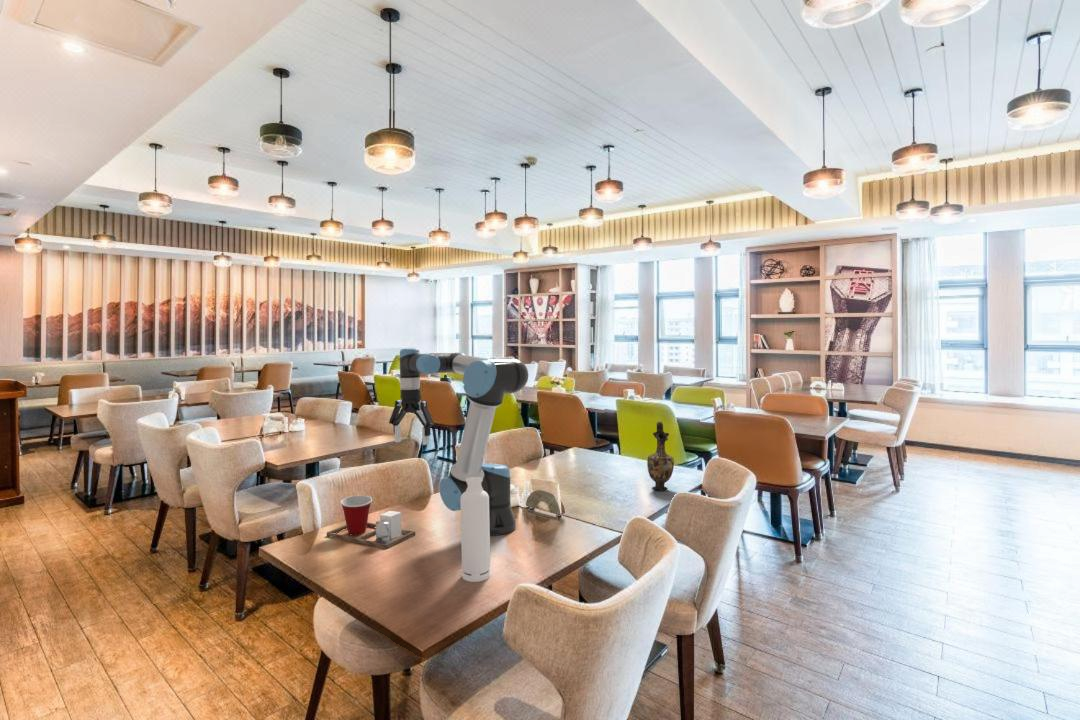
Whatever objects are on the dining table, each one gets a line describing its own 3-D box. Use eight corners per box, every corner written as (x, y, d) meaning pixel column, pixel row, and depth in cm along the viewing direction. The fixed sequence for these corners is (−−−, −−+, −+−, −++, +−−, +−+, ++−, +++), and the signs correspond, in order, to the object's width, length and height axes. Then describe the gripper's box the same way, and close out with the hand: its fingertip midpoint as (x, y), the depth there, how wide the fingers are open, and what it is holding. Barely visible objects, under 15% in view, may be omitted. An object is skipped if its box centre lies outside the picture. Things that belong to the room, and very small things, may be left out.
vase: (648, 492, 233) (647, 424, 232) (647, 484, 245) (646, 420, 244) (675, 493, 231) (674, 425, 230) (672, 485, 243) (672, 420, 242)
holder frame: (415, 534, 185) (415, 531, 185) (386, 548, 172) (386, 545, 172) (357, 523, 198) (357, 520, 198) (326, 535, 185) (326, 532, 185)
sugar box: (401, 535, 185) (400, 512, 185) (391, 539, 181) (390, 516, 180) (390, 532, 187) (390, 510, 187) (380, 537, 183) (379, 514, 183)
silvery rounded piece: (392, 541, 179) (392, 520, 179) (384, 546, 175) (384, 525, 174) (381, 539, 181) (381, 519, 180) (373, 544, 176) (372, 523, 176)
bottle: (463, 570, 155) (461, 476, 154) (490, 568, 156) (488, 474, 155) (461, 582, 147) (459, 483, 146) (490, 581, 148) (488, 482, 147)
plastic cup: (348, 540, 180) (347, 506, 180) (336, 532, 188) (335, 499, 188) (378, 532, 188) (377, 499, 187) (365, 525, 196) (364, 493, 195)
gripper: (442, 388, 201) (443, 443, 202) (392, 387, 212) (393, 439, 213) (429, 390, 194) (431, 447, 195) (379, 388, 206) (380, 442, 206)
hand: (411, 443), depth 204 cm, fingers open, 13 cm apart
